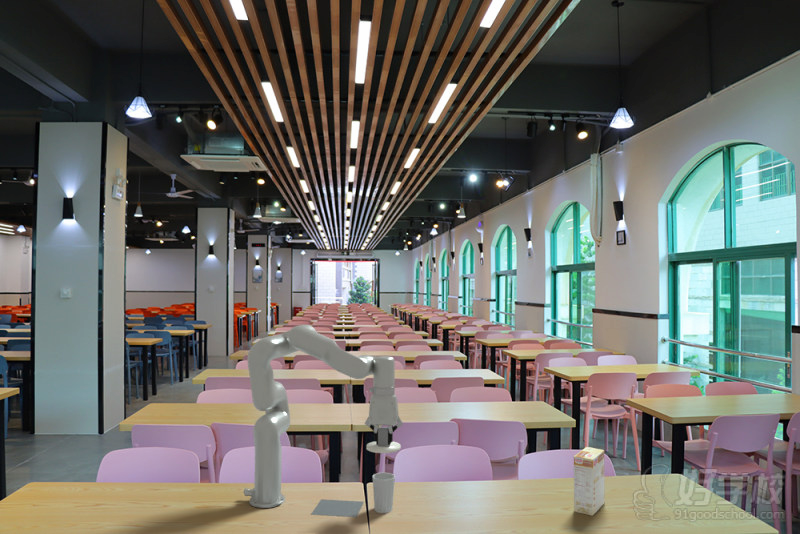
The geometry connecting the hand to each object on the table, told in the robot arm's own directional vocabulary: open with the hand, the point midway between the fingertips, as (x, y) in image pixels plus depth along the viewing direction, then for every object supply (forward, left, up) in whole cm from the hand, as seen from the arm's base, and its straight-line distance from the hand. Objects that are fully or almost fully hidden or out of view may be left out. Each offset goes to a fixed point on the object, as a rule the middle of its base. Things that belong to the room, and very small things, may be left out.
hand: (383, 443), depth 202 cm
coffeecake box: (+73, +14, -24) cm, 78 cm away
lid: (0, 0, -2) cm, 2 cm away
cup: (0, 0, -24) cm, 24 cm away
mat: (-16, -1, -23) cm, 28 cm away
